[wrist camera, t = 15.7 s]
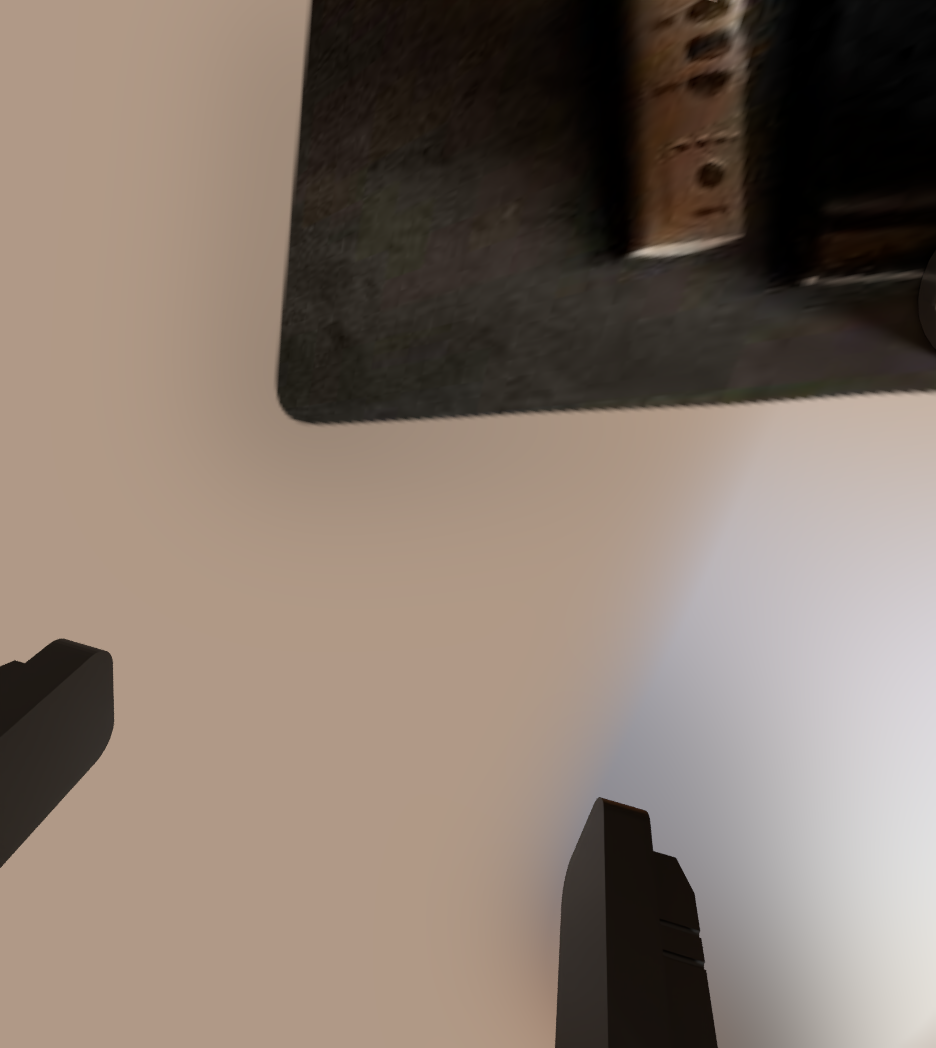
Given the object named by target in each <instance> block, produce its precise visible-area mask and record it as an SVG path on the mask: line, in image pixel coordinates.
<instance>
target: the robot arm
mask: <svg viewBox="0 0 936 1048" xmlns="http://www.w3.org/2000/svg"><path fill="white" fill-rule="evenodd" d="M918 306H919V319H920V322H921V325H922V328H923V331H924V334H925V335H926V337H927V338H928V340H929V341H930V343H931V344H932V346H933V347H934V348H935V349H936V250H935V252H934V253H933V255H932V257H931V258H930V260H929V262H928V264H927V267H926V270H925V272H924V275H923V277H922V280H921V285H920V291H919V297H918ZM113 698H114V696H113V661H112V657H111V655H110V653H109V652H107V651H104V650H101V649H97V648H94V647H91V646H87V645H84V644H80V643H77V642H73V641H70V640H66V639H58V640H55V641H53V642H52V643H50V644H49V645H47V646H46V647H45V648H44V649H42V650H41V651H40V652H39V653H37V654H36V655H35V656H34V657H32V658H31V659H30V660H28V661H27V662H26V663H22V662H18V661H12V662H10V663H7V664H5V665H3V666H0V868H1V867H2V866H3V864H4V863H5V862H6V861H7V860H8V859H9V858H10V857H11V855H12V854H13V853H14V852H15V851H16V850H17V849H18V848H19V847H20V846H21V844H22V843H23V842H24V841H25V840H26V839H27V838H28V837H29V836H30V834H31V833H32V832H33V831H34V830H35V829H36V828H37V827H38V825H40V823H41V822H42V821H43V820H44V819H45V818H46V817H47V816H48V814H49V813H50V812H51V811H52V810H53V809H54V808H55V807H56V806H57V805H58V803H59V802H60V801H61V800H62V799H63V798H64V797H65V795H66V794H67V793H68V792H69V791H70V790H71V789H72V788H73V787H74V786H75V785H76V784H77V782H78V781H79V780H80V779H81V778H82V777H83V776H84V775H85V774H86V772H87V771H88V770H89V769H90V768H91V767H92V766H93V765H94V764H95V762H96V761H97V760H98V759H99V757H100V756H101V755H102V753H103V751H104V750H105V748H106V746H107V744H108V742H109V740H110V737H111V734H112V730H113V726H114V699H113ZM699 932H700V927H699V920H698V914H697V907H696V901H695V894H694V892H693V890H692V888H691V886H690V884H689V882H688V880H687V878H686V876H685V874H684V872H683V871H682V869H681V867H680V865H679V863H678V861H677V859H676V858H675V857H672V856H668V855H665V854H661V853H658V852H655V851H653V845H652V835H651V825H650V818H649V814H648V812H647V811H645V810H642V809H638V808H635V807H632V806H628V805H625V804H621V803H618V802H614V801H611V800H607V799H604V798H601V797H599V798H598V799H597V800H596V801H595V803H594V805H593V808H592V810H591V812H590V815H589V817H588V819H587V822H586V824H585V826H584V829H583V831H582V834H581V836H580V838H579V841H578V843H577V845H576V848H575V850H574V852H573V855H572V857H571V859H570V862H569V865H568V869H567V872H566V877H565V881H564V887H563V894H562V905H561V926H560V949H559V971H558V973H559V974H558V995H557V1017H556V1040H555V1048H718V1047H717V1040H716V1033H715V1027H714V1020H713V1013H712V1007H711V1000H710V993H709V987H708V980H707V973H706V970H704V963H705V960H704V954H703V947H702V940H701V938H699Z"/></svg>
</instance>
